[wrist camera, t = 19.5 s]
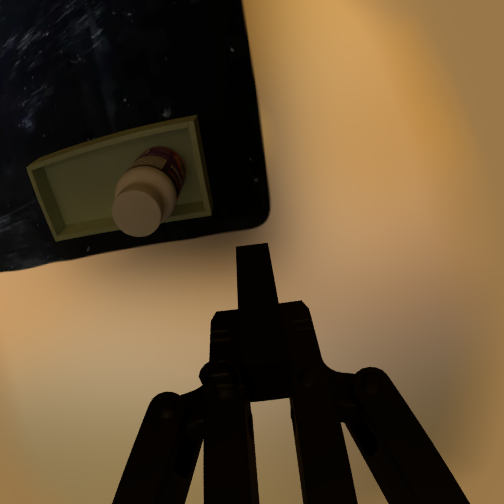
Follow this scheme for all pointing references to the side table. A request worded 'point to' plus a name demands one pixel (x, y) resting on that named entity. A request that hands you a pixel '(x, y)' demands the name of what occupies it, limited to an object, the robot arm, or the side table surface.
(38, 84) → the side table surface
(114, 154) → the tray
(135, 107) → the side table surface
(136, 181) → the pill bottle
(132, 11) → the side table surface
